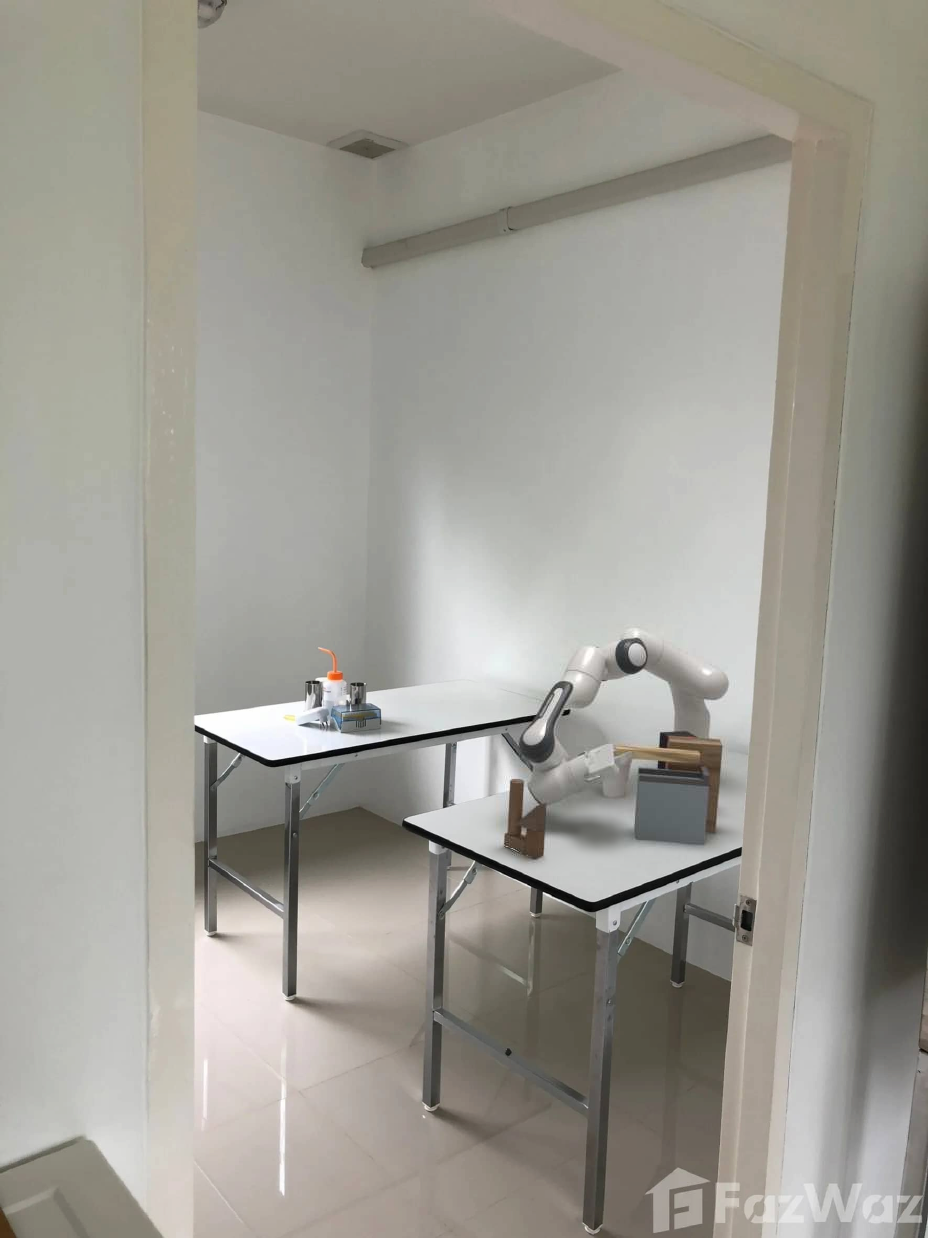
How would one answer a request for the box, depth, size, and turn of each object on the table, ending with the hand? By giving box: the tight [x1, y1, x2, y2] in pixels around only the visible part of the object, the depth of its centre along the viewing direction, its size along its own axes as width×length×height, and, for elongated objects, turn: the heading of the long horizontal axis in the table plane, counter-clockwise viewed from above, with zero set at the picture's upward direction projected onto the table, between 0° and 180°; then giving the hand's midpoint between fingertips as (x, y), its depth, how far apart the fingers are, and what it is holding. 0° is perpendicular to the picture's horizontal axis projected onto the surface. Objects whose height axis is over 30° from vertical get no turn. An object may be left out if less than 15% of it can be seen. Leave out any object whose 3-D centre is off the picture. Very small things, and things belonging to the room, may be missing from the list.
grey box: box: [633, 766, 710, 846], centre depth 258 cm, size 8×18×19 cm, turn 83°
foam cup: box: [602, 758, 633, 799], centre depth 290 cm, size 10×9×13 cm
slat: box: [615, 744, 700, 764], centre depth 256 cm, size 4×22×2 cm, turn 83°
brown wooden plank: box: [666, 736, 723, 834], centre depth 264 cm, size 6×14×25 cm, turn 83°
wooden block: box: [503, 778, 547, 859], centre depth 244 cm, size 4×11×18 cm, turn 45°
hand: (631, 750), depth 257 cm, fingers closed on slat, 3 cm apart
